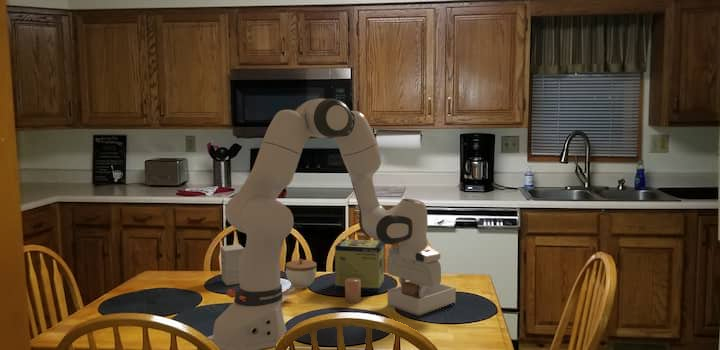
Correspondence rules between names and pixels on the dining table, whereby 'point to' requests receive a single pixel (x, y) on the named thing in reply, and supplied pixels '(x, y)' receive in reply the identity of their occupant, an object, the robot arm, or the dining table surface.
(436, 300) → the tote
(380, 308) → the dining table surface
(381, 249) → the protein box
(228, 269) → the supplement box
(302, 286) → the lidded jar
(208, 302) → the dining table surface
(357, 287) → the terracotta cylinder
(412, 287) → the walnut cube
